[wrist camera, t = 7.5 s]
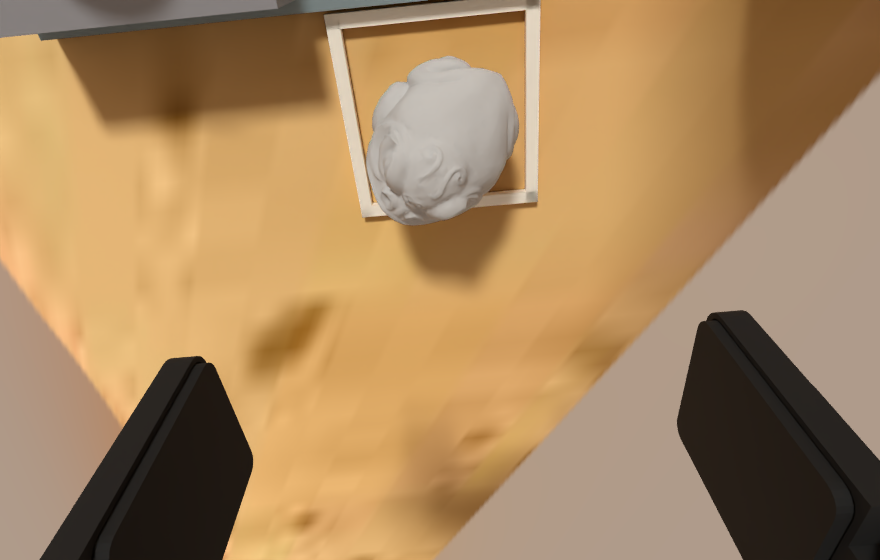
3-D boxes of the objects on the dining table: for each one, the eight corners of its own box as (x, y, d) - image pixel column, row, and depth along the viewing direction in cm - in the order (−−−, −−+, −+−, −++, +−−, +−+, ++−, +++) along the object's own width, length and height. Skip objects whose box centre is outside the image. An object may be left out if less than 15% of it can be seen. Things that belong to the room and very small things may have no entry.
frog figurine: (347, 132, 25) (323, 190, 19) (437, 6, 22) (441, 31, 17) (443, 203, 27) (448, 275, 22) (537, 97, 25) (572, 147, 19)
